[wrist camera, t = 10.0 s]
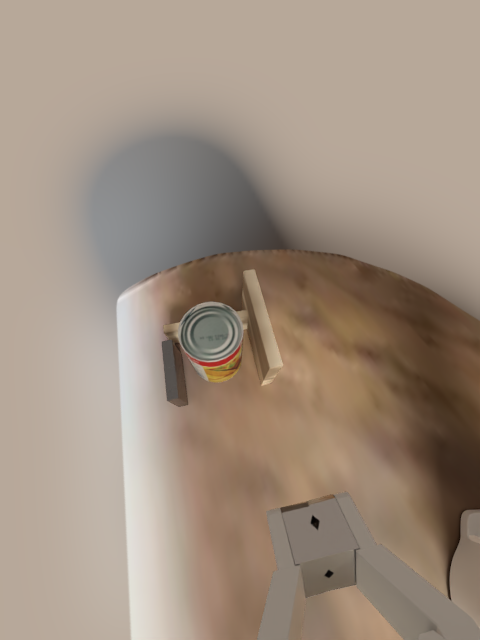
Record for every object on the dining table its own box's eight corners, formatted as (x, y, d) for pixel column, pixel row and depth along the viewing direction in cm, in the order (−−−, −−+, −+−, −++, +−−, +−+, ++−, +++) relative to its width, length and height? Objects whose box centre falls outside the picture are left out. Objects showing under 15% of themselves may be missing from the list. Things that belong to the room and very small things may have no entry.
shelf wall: (250, 306, 45) (254, 269, 35) (271, 383, 39) (283, 364, 29) (169, 321, 44) (149, 287, 34) (178, 404, 38) (157, 392, 28)
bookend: (181, 354, 41) (171, 339, 35) (188, 404, 38) (178, 398, 31) (173, 356, 41) (161, 341, 35) (178, 406, 38) (167, 400, 31)
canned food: (251, 358, 41) (257, 329, 30) (216, 393, 39) (208, 376, 28) (218, 327, 43) (212, 290, 32) (183, 358, 41) (164, 329, 30)
